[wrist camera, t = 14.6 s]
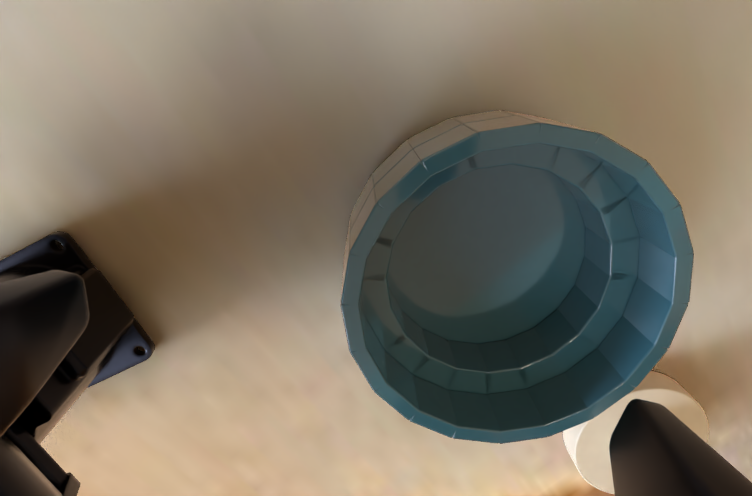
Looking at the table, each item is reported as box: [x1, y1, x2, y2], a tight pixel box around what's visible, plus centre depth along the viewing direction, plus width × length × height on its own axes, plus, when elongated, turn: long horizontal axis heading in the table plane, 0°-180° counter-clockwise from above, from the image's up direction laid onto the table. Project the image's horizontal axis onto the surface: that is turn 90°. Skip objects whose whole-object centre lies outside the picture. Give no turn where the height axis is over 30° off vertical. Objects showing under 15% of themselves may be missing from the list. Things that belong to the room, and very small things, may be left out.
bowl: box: [341, 110, 694, 444], centre depth 18 cm, size 12×12×5 cm
